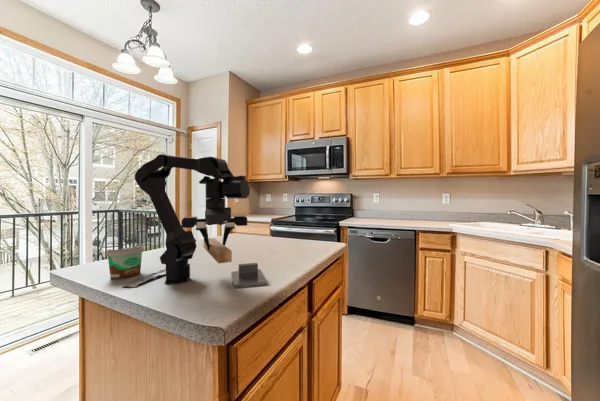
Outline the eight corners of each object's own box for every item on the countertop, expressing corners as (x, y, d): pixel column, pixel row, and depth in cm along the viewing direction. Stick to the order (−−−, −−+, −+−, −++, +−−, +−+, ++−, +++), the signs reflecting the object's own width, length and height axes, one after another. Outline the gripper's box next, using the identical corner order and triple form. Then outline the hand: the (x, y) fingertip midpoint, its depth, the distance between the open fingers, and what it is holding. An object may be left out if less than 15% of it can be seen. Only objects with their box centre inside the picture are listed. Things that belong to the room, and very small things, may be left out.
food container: (120, 282, 82) (120, 251, 82) (106, 280, 84) (105, 249, 84) (152, 271, 94) (152, 244, 94) (139, 270, 96) (139, 243, 96)
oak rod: (218, 263, 69) (218, 252, 69) (203, 247, 90) (203, 238, 90) (231, 261, 70) (231, 250, 70) (214, 246, 91) (214, 238, 91)
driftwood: (132, 291, 76) (132, 283, 76) (114, 288, 78) (114, 281, 78) (182, 272, 96) (182, 266, 96) (167, 270, 98) (167, 265, 98)
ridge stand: (233, 288, 77) (233, 271, 77) (231, 274, 90) (231, 260, 90) (267, 284, 80) (267, 268, 80) (260, 272, 93) (260, 258, 93)
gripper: (178, 199, 69) (179, 257, 70) (249, 198, 75) (249, 252, 75) (183, 198, 80) (184, 249, 80) (245, 198, 85) (245, 245, 86)
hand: (215, 249), depth 80 cm, fingers closed on oak rod, 4 cm apart
